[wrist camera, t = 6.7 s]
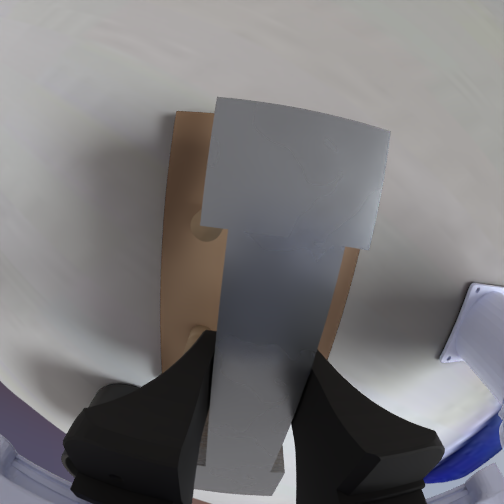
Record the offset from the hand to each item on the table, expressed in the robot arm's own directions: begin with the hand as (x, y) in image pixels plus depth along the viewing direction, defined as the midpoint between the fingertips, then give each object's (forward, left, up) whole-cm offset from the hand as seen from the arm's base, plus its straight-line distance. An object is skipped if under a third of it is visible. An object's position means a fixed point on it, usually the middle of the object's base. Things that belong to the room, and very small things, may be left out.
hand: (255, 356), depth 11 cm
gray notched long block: (0, 0, -2) cm, 3 cm away
